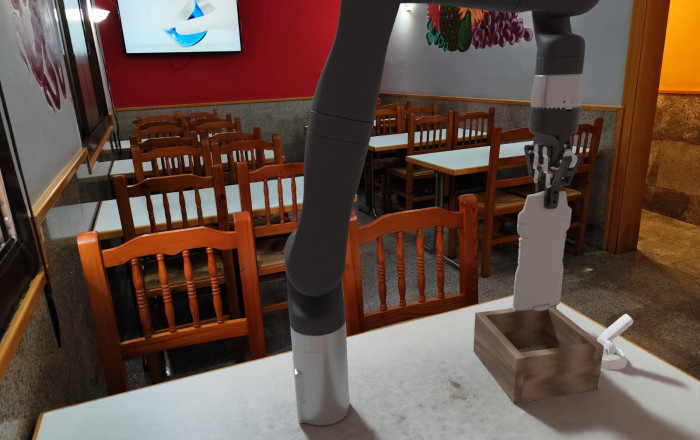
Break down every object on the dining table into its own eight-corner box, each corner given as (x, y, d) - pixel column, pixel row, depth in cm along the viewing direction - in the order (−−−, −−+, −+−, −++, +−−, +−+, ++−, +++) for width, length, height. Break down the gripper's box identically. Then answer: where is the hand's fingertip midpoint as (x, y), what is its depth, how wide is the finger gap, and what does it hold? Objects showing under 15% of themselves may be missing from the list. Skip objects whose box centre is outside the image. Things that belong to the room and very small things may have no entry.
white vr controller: (665, 345, 90) (643, 332, 87) (616, 385, 94) (594, 373, 91) (640, 318, 96) (618, 305, 94) (595, 357, 100) (574, 345, 98)
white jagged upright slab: (554, 296, 92) (565, 185, 85) (568, 306, 88) (581, 190, 81) (504, 304, 89) (513, 190, 82) (517, 315, 85) (527, 196, 79)
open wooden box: (513, 403, 84) (516, 358, 81) (473, 351, 99) (475, 312, 96) (597, 389, 86) (603, 346, 83) (546, 341, 102) (549, 303, 99)
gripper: (512, 102, 83) (506, 198, 89) (559, 107, 70) (548, 219, 75) (551, 100, 84) (543, 194, 90) (605, 105, 71) (591, 215, 77)
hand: (545, 205), depth 83 cm, fingers closed on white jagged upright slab, 2 cm apart
